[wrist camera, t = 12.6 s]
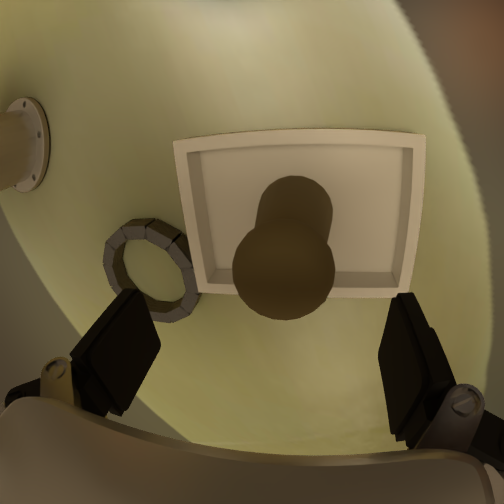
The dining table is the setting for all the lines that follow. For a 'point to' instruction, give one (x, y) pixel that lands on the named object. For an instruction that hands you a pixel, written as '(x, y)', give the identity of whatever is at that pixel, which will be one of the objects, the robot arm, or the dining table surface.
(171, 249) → the stone ring
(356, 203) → the white rectangular tray
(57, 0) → the dining table surface
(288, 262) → the cork
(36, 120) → the robot arm
